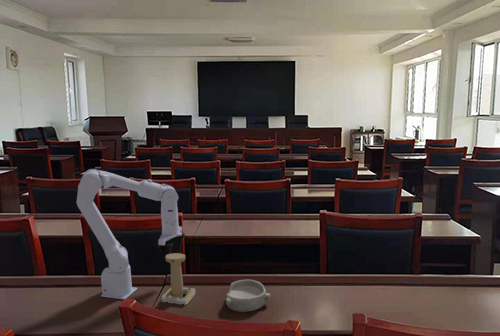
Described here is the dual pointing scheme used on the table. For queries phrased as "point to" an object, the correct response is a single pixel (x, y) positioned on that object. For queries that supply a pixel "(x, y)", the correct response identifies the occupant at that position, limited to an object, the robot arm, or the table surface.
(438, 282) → the table surface
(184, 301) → the square frame
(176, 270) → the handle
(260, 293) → the dish
